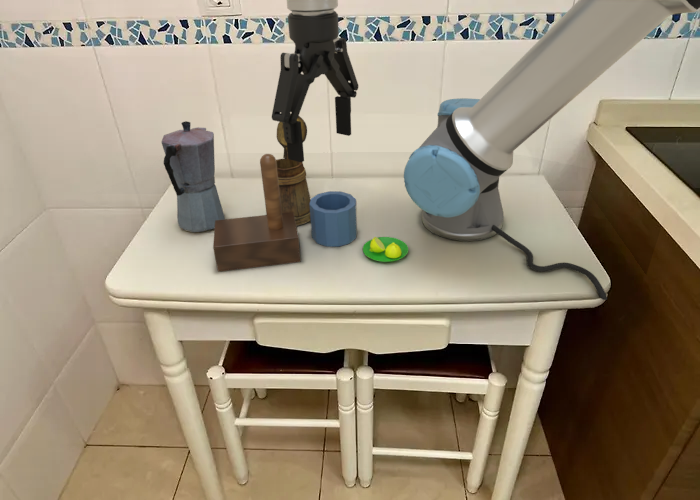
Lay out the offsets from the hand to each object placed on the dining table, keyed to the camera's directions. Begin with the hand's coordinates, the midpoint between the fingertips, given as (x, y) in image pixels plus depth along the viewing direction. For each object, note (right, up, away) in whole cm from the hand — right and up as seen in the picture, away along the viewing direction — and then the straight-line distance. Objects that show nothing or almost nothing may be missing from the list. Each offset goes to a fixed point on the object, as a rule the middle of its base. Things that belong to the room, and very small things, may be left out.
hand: (321, 146), depth 89 cm
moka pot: (-24, -13, +13) cm, 30 cm away
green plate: (+11, -18, +3) cm, 22 cm away
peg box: (-11, -18, +4) cm, 22 cm away
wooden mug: (-6, -10, +17) cm, 20 cm away
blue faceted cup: (+2, -15, +8) cm, 17 cm away
